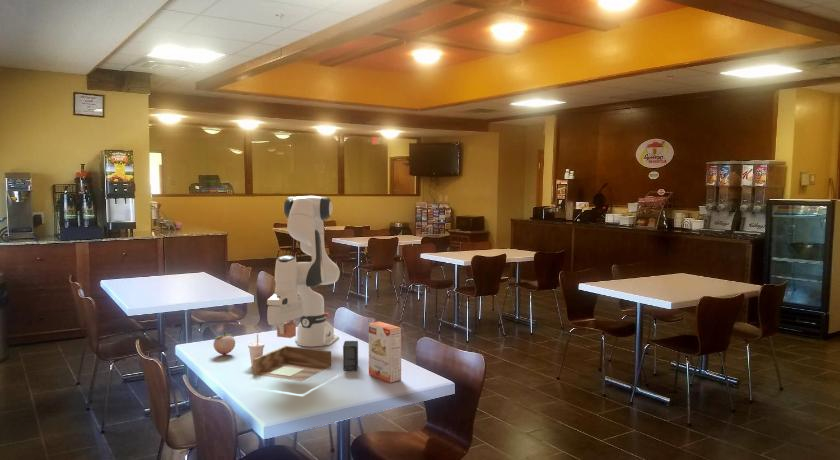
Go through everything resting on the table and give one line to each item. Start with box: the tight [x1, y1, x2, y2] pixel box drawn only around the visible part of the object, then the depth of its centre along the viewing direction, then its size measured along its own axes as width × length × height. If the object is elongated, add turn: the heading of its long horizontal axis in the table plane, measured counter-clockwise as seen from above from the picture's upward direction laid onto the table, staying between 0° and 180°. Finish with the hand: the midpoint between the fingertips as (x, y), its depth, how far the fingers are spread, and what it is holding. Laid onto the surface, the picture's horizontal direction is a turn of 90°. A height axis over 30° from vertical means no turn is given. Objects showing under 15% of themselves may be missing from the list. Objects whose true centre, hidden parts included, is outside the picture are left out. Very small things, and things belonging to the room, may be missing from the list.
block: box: [276, 322, 297, 339], centre depth 235 cm, size 6×4×5 cm, turn 69°
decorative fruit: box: [213, 332, 236, 356], centre depth 261 cm, size 9×8×10 cm
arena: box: [252, 345, 332, 382], centre depth 238 cm, size 22×22×7 cm
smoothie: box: [247, 333, 265, 368], centre depth 243 cm, size 6×6×14 cm
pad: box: [269, 366, 305, 377], centre depth 236 cm, size 10×10×1 cm
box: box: [342, 340, 359, 372], centre depth 243 cm, size 8×6×11 cm
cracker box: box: [368, 321, 402, 384], centre depth 231 cm, size 14×6×21 cm, turn 40°
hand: (286, 332), depth 235 cm, fingers closed on block, 4 cm apart
